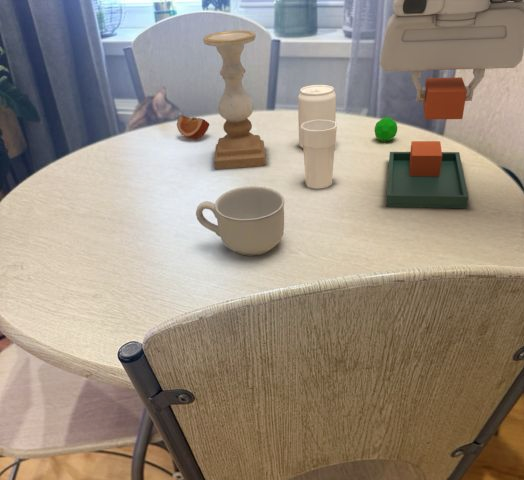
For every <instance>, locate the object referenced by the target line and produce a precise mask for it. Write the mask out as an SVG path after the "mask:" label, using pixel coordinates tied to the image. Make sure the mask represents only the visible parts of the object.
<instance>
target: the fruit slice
mask: <svg viewBox="0 0 524 480" xmlns="http://www.w3.org/2000/svg"><path fill="white" fill-rule="evenodd" d="M209 127H210V123H209V122H208V121H207V120H206V119H204V118H200V117H194V116H192V117H189V116H187V115H181V114H180V115H179V114H178V118H177V122H176V128H177V130H178V132H179V133H180V135H182V136H183V137H185V138H187V139H189V140H197V139H200V138H202V137H203V136H204V135H205V134H206V133H207V132H208V130H209Z"/></svg>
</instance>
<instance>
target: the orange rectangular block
mask: <svg viewBox="0 0 524 480" xmlns="http://www.w3.org/2000/svg"><path fill="white" fill-rule="evenodd" d="M410 144H411V145H410V151H409V152H410V160H409V168H410V176H432V177H439V175H440V168H441V161H442V152H443V151H442V144H441V141H439V140H432V141H431V140H411V143H410Z"/></svg>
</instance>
